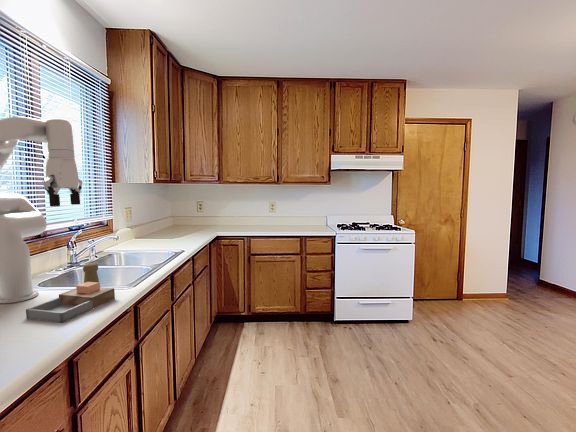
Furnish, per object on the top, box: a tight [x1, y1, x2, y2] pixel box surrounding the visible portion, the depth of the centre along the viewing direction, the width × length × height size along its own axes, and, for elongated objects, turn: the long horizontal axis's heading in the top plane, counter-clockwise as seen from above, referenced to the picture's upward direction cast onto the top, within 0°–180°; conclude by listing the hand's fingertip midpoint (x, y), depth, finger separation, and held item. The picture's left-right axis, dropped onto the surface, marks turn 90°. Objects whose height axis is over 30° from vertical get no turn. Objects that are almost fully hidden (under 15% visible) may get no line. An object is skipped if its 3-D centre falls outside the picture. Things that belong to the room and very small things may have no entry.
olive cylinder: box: [82, 262, 101, 287], centre depth 131 cm, size 6×6×11 cm
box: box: [25, 296, 93, 324], centre depth 109 cm, size 14×12×3 cm
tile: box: [75, 281, 101, 294], centre depth 119 cm, size 5×5×2 cm
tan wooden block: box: [58, 286, 116, 309], centre depth 119 cm, size 14×10×4 cm
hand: (65, 205), depth 117 cm, fingers open, 9 cm apart
